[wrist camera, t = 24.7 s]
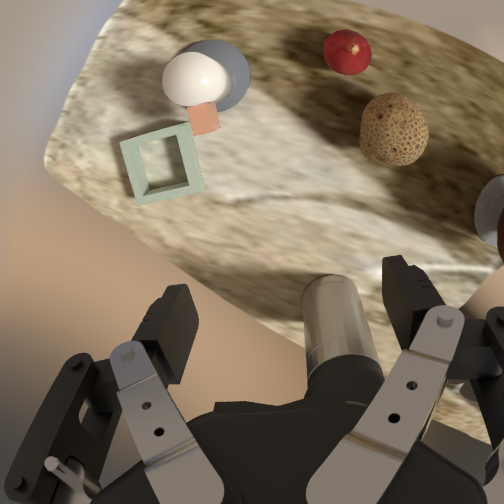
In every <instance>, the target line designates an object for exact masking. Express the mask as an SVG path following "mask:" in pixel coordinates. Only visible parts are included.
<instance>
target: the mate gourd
mask: <svg viewBox="0 0 504 504" xmlns="http://www.w3.org/2000/svg"><path fill="white" fill-rule="evenodd" d="M474 223H475V227H476V230H477V233H478V235H479V236H480V237H481V239H483V240H484V241H485V242H486V243H488V244H490V245H495V246H498V251H499V254H500V256H501V258H502V260H503V262H504V175H500V176H497V177H495V178H493V179H492V180H491V181H489V182H488V183H487V184H486V185H485V187H484V188H483V189H482V191H481V193H480V195H479V197H478V199H477V202H476V206H475V212H474Z"/></svg>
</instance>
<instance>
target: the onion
mask: <svg viewBox="0 0 504 504" xmlns="http://www.w3.org/2000/svg"><path fill="white" fill-rule="evenodd" d="M323 55H324V59H325V61H326V63H327V64H328V66H329V67H330V68H331V69H333V70H334V71H336V72H337V73H341V74H345V75H355V74H358V73H360V72H362V71H364V70H365V69H366V68H367V67H368V65H369V64H370V61H371V56H372V53H371V47H370V45H369V43H368V42H367V40H366V39H365V38H364V37H363V36H362V35H360V34H359V33H357V32H355V31H351V30H347V29H345V30H339V31H336V32H334V33H333V34H331V35H330V36H328V38H327V39H326V41H325V42H324V46H323Z"/></svg>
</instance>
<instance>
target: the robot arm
mask: <svg viewBox="0 0 504 504" xmlns="http://www.w3.org/2000/svg"><path fill="white" fill-rule="evenodd" d="M382 297H383V303H384V306H385V308H386V311H387V313H388V316H389V318H390V321H391V324H392V326H393V329H394V331H395V334H396V337H397V339H398V342H399V345H400V347H401V350H402V352H401V354H400V356H399V358H398V359H397V361H396V363H395V365H394V366H393V368H392V370H391V371H390V373H389V375H388V376H387V378H386V380H385V378H384V376H383V373H382V369H381V365H380V362H379V358H378V355H377V352H376V348H375V345H374V341H373V338H372V335H371V331H370V328H369V325H368V322H367V318H366V315H365V312H364V309H363V306H362V302H361V299H360V296H359V293H358V290H357V288H356V286H355V285H354V283H353V282H352V281H350V280H349V279H347V278H345V277H342V276H337V275H328V276H324V277H321V278H319V279H317V280H315V281H314V282H312V283H311V284H310V285H309V286H308V287H307V289H306V290H305V292H304V295H303V300H302V304H303V319H304V333H305V349H306V367H307V385H308V389H307V391H306V394H305V396H304V399H301V400H298V401H294V402H291V403H288V404H284V405H281V406H274V405H266V404H260V403H254V402H247V401H239V402H238V401H237V402H215V405H214V410H213V412H209V413H206V414H203V415H200V416H198V417H196V418H194V419H192V420H190V421H189V422H187V423H186V421H185V420H184V418H183V416H182V415H181V413H180V411H179V409H178V408H177V406H176V404H175V403H174V401H173V399H172V398H171V396H170V394H169V392H168V390H167V388H168V385H169V384H180V381H181V379H182V376H183V372H184V369H185V366H186V363H187V360H188V357H189V354H190V351H191V348H192V345H193V342H194V339H195V335H196V333H197V330H198V325H199V318H198V313H197V311H196V308H195V305H194V302H193V299H192V297H191V294H190V291H189V288H188V286H187V285H186V284H178V285H170V286H168V287H167V288H166V290H165V292H164V294H163V296H162V298H158V299H157V300H156V301H155V302H154V303H153V304H152V305H151V306H150V307H149V309H148V311H147V313H146V315H145V316H144V318H143V322H141V324H140V325H139V327H138V329H137V331H136V333H135V335H134V336H133V338H132V340H131V341H128V342H125V343H122V344H120V345H119V346H117V347H116V348H115V349H114V350H113V351H112V353H111V355H110V358H109V359H105V360H101V361H97V362H94V361H93V359H92V357H91V356H90V355H89V354H87V353H79V354H76V355H74V356H72V357H71V358H69V359H68V360H67V361H66V362H65V364H64V365H63V367H62V369H61V371H60V372H59V374H58V376H57V378H56V379H55V381H54V383H53V385H52V386H51V388H50V390H49V392H48V394H47V395H46V397H45V399H44V401H43V403H42V405H41V406H40V408H39V410H38V412H37V414H36V416H35V418H34V420H33V422H32V424H31V426H30V428H29V430H28V432H27V434H26V436H25V438H24V440H23V442H22V444H21V446H20V448H19V451H18V452H17V455H16V457H15V459H14V461H13V463H12V465H11V468H10V470H9V472H8V475H7V477H6V479H5V484H4V489H5V493H6V495H7V496H8V498H9V499H10V500H12V501H13V502H15V503H16V504H504V307H495V308H492V309H490V310H489V311H488V312H487V315H486V319H482V320H481V319H465V318H464V316H463V314H462V313H461V312H460V311H459V310H458V309H456V308H454V307H451V306H447V305H446V304H445V302H444V301H443V299H442V298H441V296H440V295H439V293H438V292H437V290H436V288H435V287H434V286H433V284H432V282H431V281H430V280H429V278H428V276H427V275H426V273H425V272H424V271H423V270H422V269H420V268H418V267H417V266H415V265H412V266H408V264H407V263H406V261H405V260H404V258H403V257H402V255H396V256H390V257H384V258H383V260H382ZM448 379H469V380H470V382H471V385H472V388H473V391H474V393H475V396H476V399H477V402H478V404H479V407H480V410H481V413H482V416H483V419H484V422H485V425H486V428H487V431H488V435H489V438H490V441H491V445H492V448H493V453H492V454H491V456H490V457H489V459H488V461H487V463H486V466H485V483H484V486H483V487H482V486H481V484H480V483H479V482H478V481H477V480H476V479H475V478H474V477H473V476H471V475H470V474H468V473H467V472H465V471H464V470H463V469H461V468H460V467H458V466H456V465H455V464H453V463H452V462H451V461H449V460H448V459H446V458H445V457H443V456H442V455H441V454H439V453H438V452H436V451H435V450H433V449H432V448H431V447H429V446H428V445H426V444H425V443H423V442H422V439H423V437H424V435H425V432H426V430H427V428H428V426H429V424H430V421H431V419H432V417H433V415H434V412H435V410H436V408H437V406H438V403H439V401H440V399H441V396H442V394H443V391H444V389H445V387H446V384H447V381H448ZM83 402H85V403H86V404H87V405H88V409H87V411H86V414H85V416H84V418H83V421H82V423H81V424H80V421H79V411H80V409H81V407H82V404H83ZM122 410H123V412H124V415H125V418H126V421H127V423H128V426H129V428H130V431H131V434H132V436H133V438H134V441H135V443H136V445H137V448H138V450H139V453H140V455H141V457H142V460H141V461H139V462H138V463H137V464H135V465H134V466H133V467H132V468H130V469H129V470H128V471H126V472H125V473H124V474H122V475H121V476H120V477H119V478H117V479H116V480H114V481H113V482H112V483H110V484H109V485H108V486H107V487H105V488H104V489H102V487H101V483H100V481H99V478H100V475H101V472H102V469H103V466H104V463H105V460H106V457H107V453H108V450H109V448H110V445H111V441H112V439H113V436H114V433H115V430H116V427H117V424H118V421H119V418H120V415H121V413H122Z"/></svg>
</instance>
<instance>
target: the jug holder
mask: <svg viewBox="0 0 504 504" xmlns="http://www.w3.org/2000/svg"><path fill="white" fill-rule="evenodd" d="M173 135H177V140H178V144H179V148H180V152H181V155H182V159H183V163H184V167H185V171H186V175H187V179H188V182H183V183H179V184H174V185H170V186H165V187H161V188H157V189H152V190H150V186H149V183H148V180H147V176H146V173H145V169H144V165H143V162H142V158H141V154H140V151H139V147H138V145H141V144H144V143H148V142H151V141H155V140H158V139H162V138H166V137H169V136H173ZM119 143H120V147H121V150H122V154H123V158H124V161H125V165H126V168H127V172H128V175H129V179H130V182H131V185H132V189H133V192H134V195H135V198H136V202H137V205H138V206H140V205H144V204H149V203H153V202H158V201H162V200H167V199H172V198H176V197H181V196H186V195H191V194H196V193H200V192H201V191H202V190H203V188H204V187H205V184H204V180H203V176H202V172H201V168H200V164H199V160H198V156H197V152H196V147H195V143H194V139H193V135H192V131H191V127H190V122H185V123H182V124H178V125H174V126H170V127H167V128H163V129H160V130H156V131H153V132H149V133H146V134H143V135H140V136H136V137H133V138H130V139H127V140H124V141H121V142H119Z"/></svg>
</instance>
